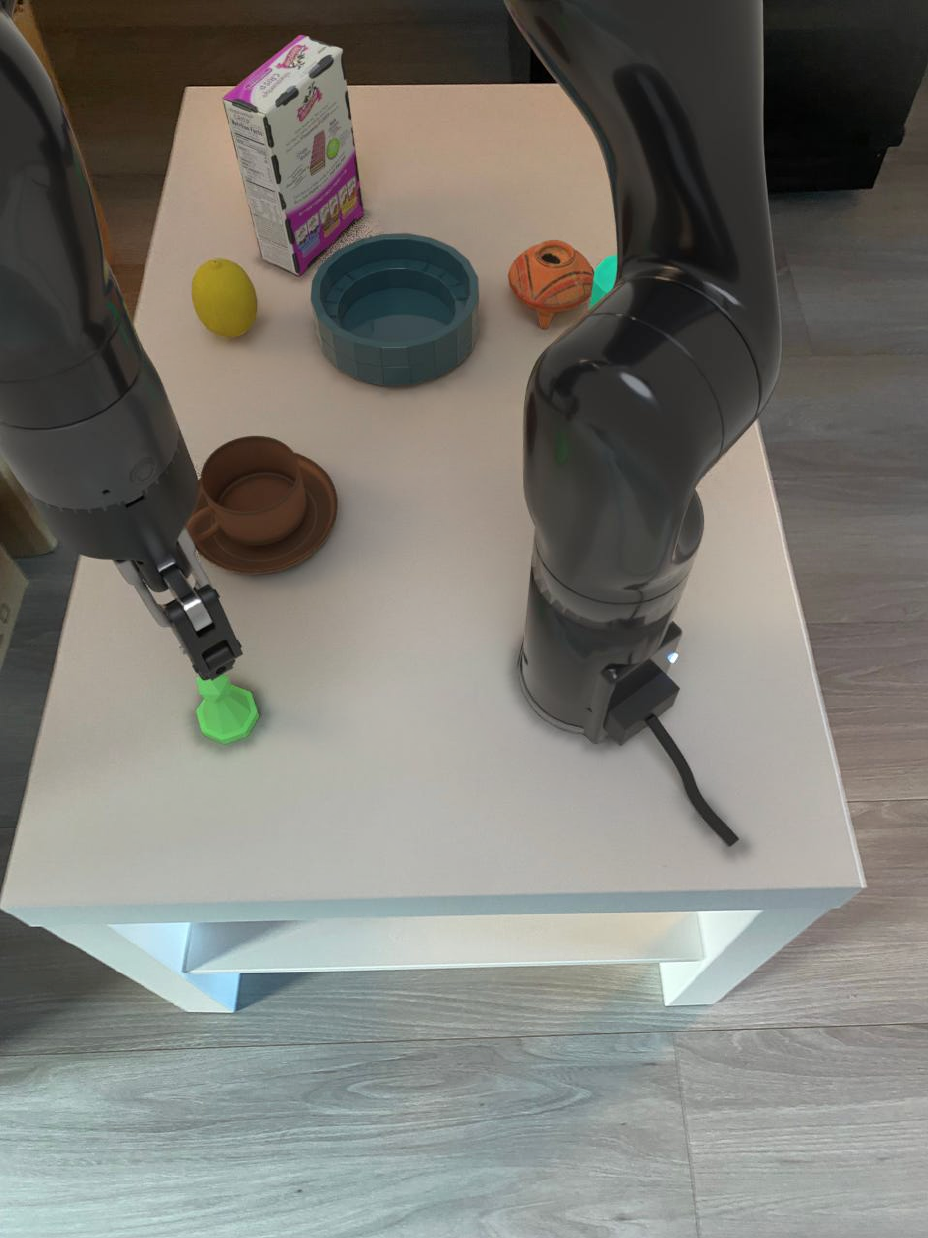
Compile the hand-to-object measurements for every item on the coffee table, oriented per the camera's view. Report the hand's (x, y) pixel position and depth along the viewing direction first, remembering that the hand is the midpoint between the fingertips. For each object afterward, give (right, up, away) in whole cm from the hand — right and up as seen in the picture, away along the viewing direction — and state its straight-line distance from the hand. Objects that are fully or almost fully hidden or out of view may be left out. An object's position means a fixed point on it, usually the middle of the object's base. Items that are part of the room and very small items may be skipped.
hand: (183, 617), depth 57 cm
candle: (+30, +22, +27) cm, 46 cm away
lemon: (-4, +26, +30) cm, 40 cm away
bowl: (+11, +26, +30) cm, 41 cm away
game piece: (0, -7, +10) cm, 12 cm away
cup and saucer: (+1, +8, +19) cm, 20 cm away
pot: (+25, +29, +31) cm, 49 cm away
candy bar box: (+2, +37, +37) cm, 53 cm away
